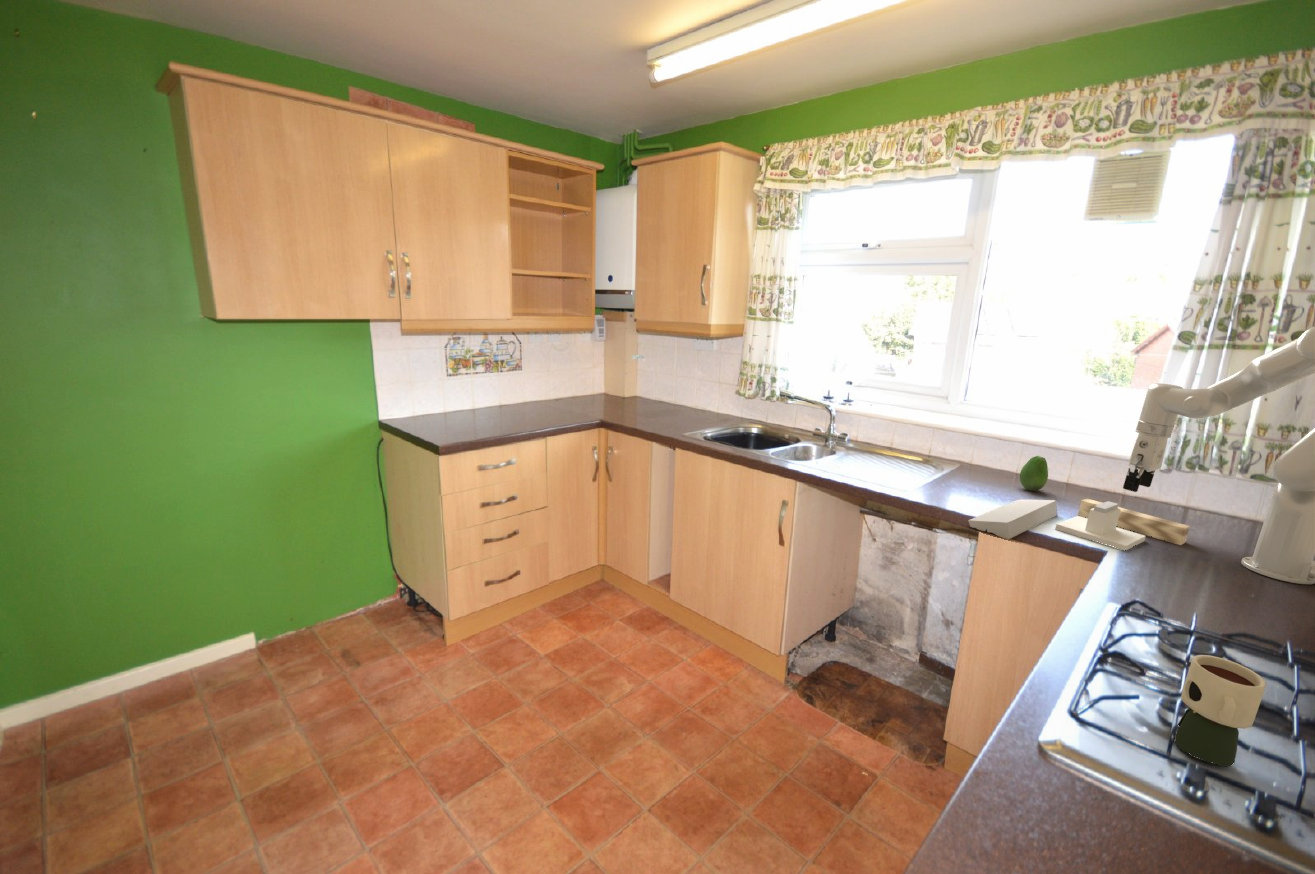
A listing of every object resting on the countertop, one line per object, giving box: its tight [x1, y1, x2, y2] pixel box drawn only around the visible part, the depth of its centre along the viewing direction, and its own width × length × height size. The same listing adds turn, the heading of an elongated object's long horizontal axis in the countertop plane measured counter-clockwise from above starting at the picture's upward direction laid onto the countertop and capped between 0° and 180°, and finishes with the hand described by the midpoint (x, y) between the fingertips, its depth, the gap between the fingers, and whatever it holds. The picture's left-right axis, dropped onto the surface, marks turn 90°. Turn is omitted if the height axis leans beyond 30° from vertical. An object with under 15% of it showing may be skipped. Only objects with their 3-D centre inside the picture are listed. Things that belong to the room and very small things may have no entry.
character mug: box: [1174, 654, 1267, 767], centre depth 77 cm, size 11×7×13 cm, turn 143°
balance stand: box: [1054, 500, 1147, 552], centre depth 156 cm, size 16×14×9 cm
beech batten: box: [1077, 498, 1191, 546], centre depth 163 cm, size 24×4×5 cm, turn 35°
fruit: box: [1019, 455, 1049, 492], centre depth 193 cm, size 8×8×12 cm
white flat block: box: [967, 498, 1058, 540], centre depth 164 cm, size 34×5×10 cm
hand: (1136, 487), depth 161 cm, fingers open, 9 cm apart
